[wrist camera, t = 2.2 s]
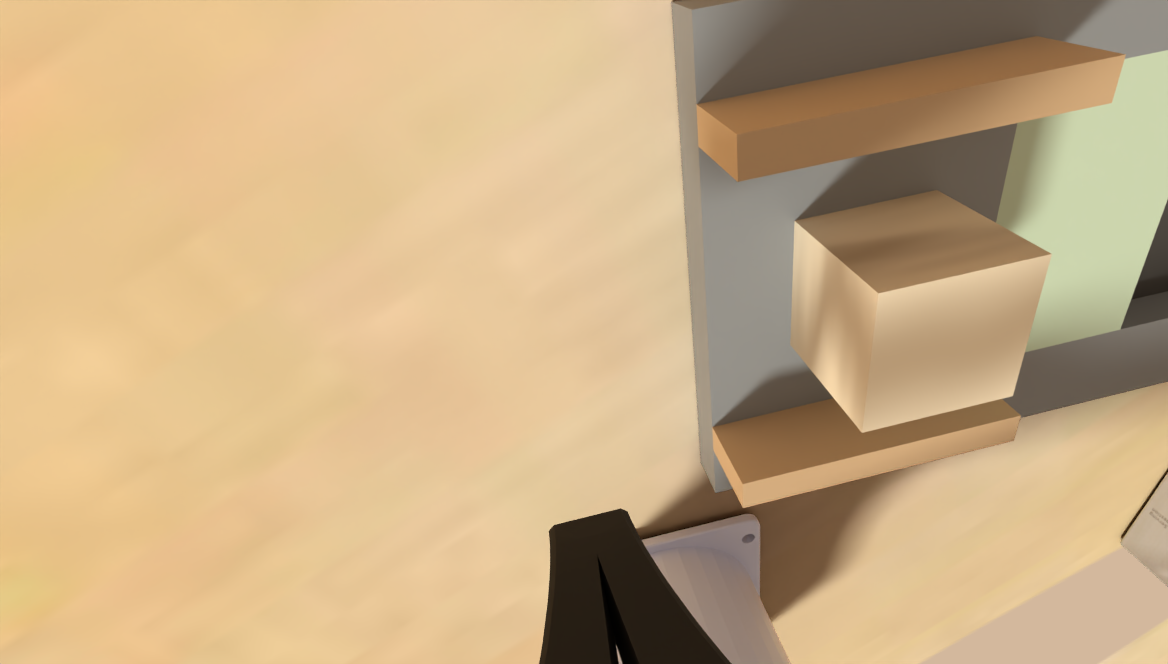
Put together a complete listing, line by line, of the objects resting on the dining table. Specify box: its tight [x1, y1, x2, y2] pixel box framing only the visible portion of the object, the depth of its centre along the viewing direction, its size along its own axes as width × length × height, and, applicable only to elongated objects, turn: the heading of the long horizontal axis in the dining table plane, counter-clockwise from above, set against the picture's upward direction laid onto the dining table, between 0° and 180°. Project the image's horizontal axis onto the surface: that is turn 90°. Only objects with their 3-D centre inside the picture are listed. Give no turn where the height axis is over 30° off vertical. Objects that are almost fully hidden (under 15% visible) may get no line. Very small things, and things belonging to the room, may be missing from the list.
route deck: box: [671, 0, 1168, 508], centre depth 19 cm, size 15×20×4 cm
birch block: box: [790, 190, 1052, 433], centre depth 17 cm, size 4×4×4 cm
